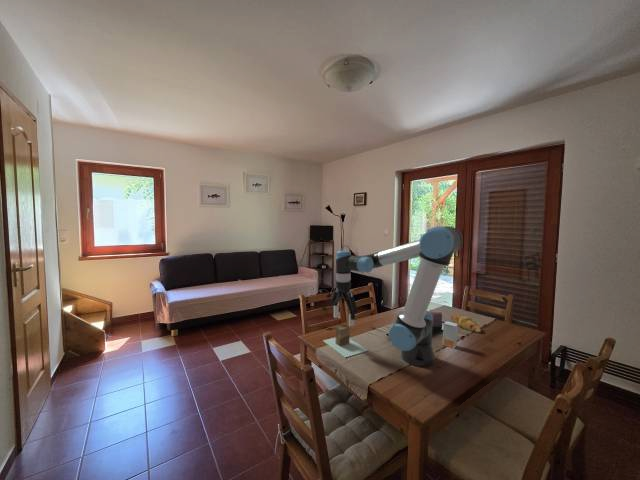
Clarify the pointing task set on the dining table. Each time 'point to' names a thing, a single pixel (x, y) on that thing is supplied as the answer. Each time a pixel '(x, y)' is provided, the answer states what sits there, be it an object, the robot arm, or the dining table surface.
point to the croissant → (466, 323)
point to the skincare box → (450, 334)
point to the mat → (346, 347)
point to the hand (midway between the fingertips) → (343, 321)
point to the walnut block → (342, 335)
